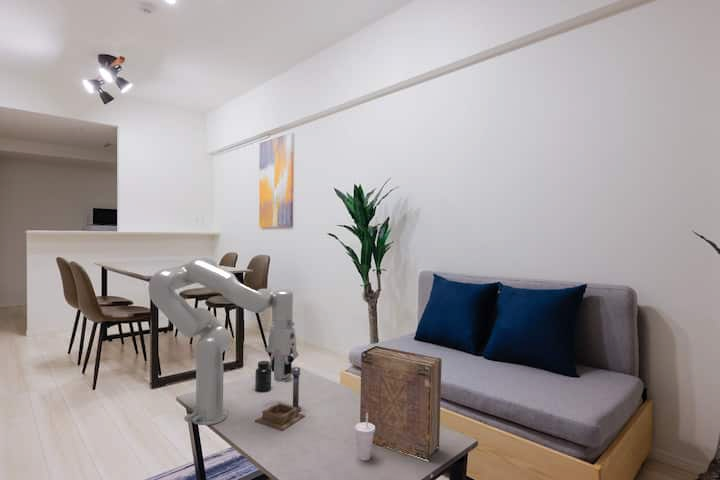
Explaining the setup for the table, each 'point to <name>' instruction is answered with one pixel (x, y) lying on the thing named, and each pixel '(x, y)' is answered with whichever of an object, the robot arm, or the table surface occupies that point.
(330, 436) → the table surface
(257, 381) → the supplement bottle
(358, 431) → the smoothie
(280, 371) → the energy drink
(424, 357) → the book
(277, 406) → the collar base
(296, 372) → the lever
